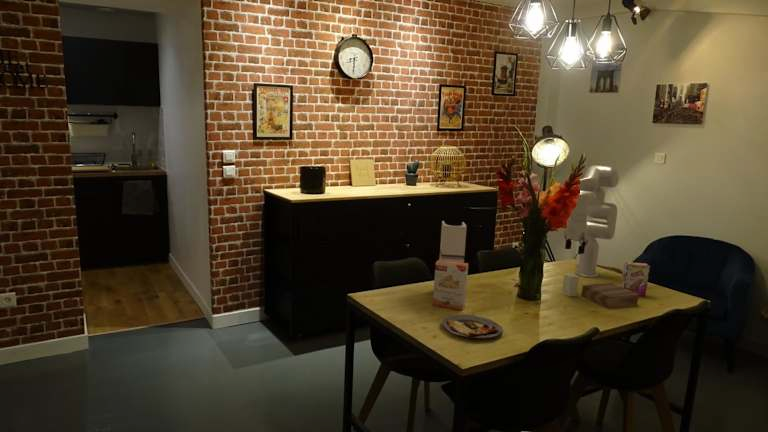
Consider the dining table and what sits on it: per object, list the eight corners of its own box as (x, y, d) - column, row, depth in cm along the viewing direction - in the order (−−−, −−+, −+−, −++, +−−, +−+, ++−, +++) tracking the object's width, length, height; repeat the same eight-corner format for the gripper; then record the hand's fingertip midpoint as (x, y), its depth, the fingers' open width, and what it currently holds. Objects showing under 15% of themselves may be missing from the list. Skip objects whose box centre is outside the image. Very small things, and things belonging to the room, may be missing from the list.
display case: (461, 298, 256) (466, 226, 249) (438, 297, 256) (443, 225, 250) (458, 290, 267) (463, 222, 261) (437, 289, 267) (442, 221, 261)
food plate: (513, 339, 210) (513, 330, 210) (460, 345, 203) (460, 336, 202) (481, 317, 234) (481, 310, 233) (432, 322, 226) (433, 314, 225)
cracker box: (432, 306, 244) (435, 261, 240) (435, 302, 249) (438, 258, 245) (462, 311, 239) (466, 266, 235) (465, 307, 245) (468, 262, 241)
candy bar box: (623, 295, 273) (627, 264, 270) (620, 292, 278) (624, 261, 275) (646, 296, 272) (650, 265, 269) (642, 293, 277) (646, 263, 274)
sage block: (562, 293, 271) (564, 274, 270) (570, 292, 273) (572, 273, 271) (568, 296, 267) (570, 277, 265) (576, 295, 269) (579, 276, 267)
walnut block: (581, 296, 269) (582, 285, 268) (609, 294, 275) (611, 282, 274) (607, 309, 252) (608, 296, 251) (637, 306, 258) (638, 294, 257)
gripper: (560, 214, 269) (557, 247, 272) (584, 220, 253) (579, 255, 256) (573, 214, 272) (569, 246, 275) (596, 220, 256) (592, 255, 259)
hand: (574, 251), depth 266 cm, fingers open, 9 cm apart
